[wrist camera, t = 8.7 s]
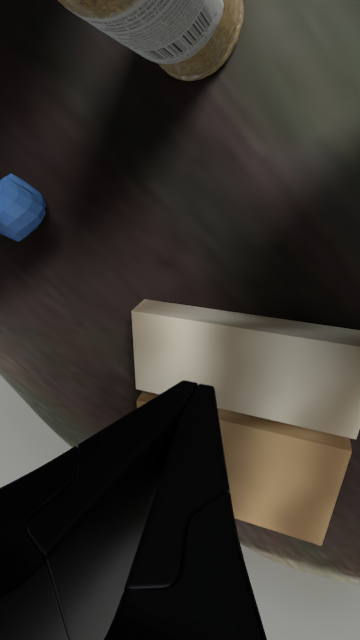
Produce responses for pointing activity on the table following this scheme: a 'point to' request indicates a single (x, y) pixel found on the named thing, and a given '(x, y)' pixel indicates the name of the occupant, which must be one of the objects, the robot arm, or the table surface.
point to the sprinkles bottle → (169, 30)
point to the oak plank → (281, 472)
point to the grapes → (19, 208)
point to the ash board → (252, 363)
